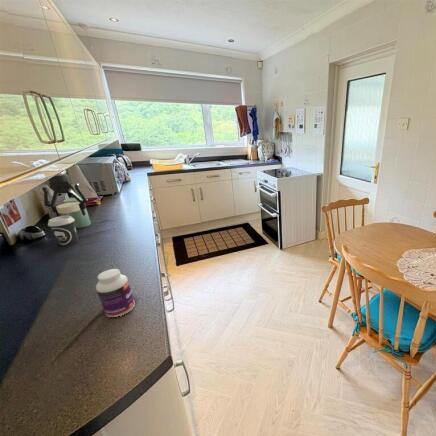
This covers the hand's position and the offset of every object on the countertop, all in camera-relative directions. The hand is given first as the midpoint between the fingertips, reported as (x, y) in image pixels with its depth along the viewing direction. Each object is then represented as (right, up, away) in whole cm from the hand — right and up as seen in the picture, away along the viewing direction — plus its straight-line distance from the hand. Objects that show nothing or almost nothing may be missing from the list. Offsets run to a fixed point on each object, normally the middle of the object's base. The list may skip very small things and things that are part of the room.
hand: (72, 216), depth 123 cm
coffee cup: (+6, -15, -6) cm, 17 cm away
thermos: (-11, -5, +18) cm, 21 cm away
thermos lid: (0, +5, -2) cm, 6 cm away
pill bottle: (+61, -32, -47) cm, 83 cm away
